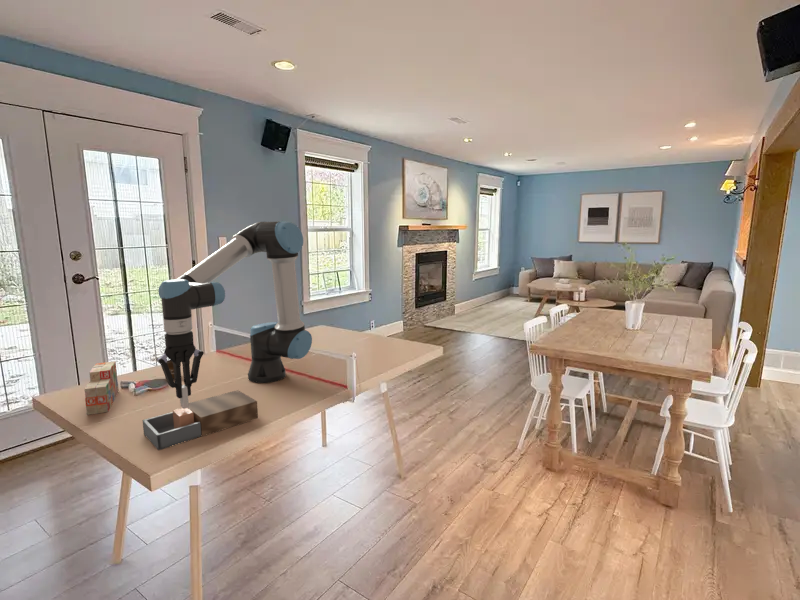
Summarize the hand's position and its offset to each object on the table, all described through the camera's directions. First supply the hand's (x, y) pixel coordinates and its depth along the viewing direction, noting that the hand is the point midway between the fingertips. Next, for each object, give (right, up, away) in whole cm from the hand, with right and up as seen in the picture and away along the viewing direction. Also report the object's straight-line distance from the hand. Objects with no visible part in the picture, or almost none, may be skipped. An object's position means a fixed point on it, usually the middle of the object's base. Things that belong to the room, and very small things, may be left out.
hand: (184, 406), depth 133 cm
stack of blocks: (-41, -4, +23) cm, 47 cm away
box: (-3, -8, -1) cm, 9 cm away
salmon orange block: (+1, -4, +2) cm, 4 cm away
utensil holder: (-30, 0, +50) cm, 58 cm away
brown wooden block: (+8, -7, +9) cm, 14 cm away
